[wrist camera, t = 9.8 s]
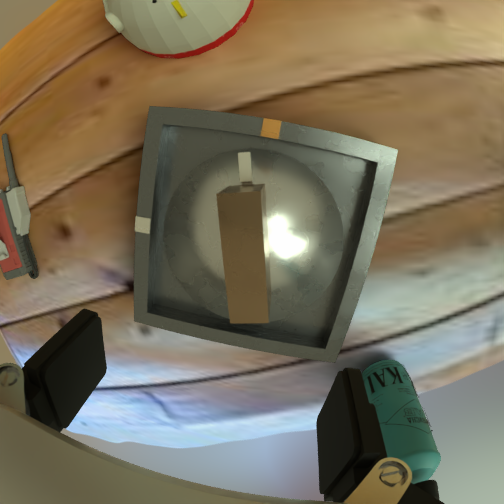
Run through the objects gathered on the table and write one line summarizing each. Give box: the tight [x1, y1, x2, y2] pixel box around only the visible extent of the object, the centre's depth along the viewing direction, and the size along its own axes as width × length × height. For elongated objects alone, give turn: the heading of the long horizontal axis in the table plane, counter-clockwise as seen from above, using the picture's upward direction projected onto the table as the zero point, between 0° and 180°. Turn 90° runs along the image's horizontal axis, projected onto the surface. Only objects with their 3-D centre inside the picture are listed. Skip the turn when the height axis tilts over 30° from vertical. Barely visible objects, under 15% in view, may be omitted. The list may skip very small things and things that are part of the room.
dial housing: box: [134, 106, 398, 363], centre depth 28 cm, size 21×21×4 cm
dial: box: [164, 149, 344, 323], centre depth 25 cm, size 16×16×6 cm
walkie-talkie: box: [0, 133, 38, 280], centre depth 30 cm, size 9×4×20 cm
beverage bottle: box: [362, 360, 441, 500], centre depth 24 cm, size 6×7×20 cm
